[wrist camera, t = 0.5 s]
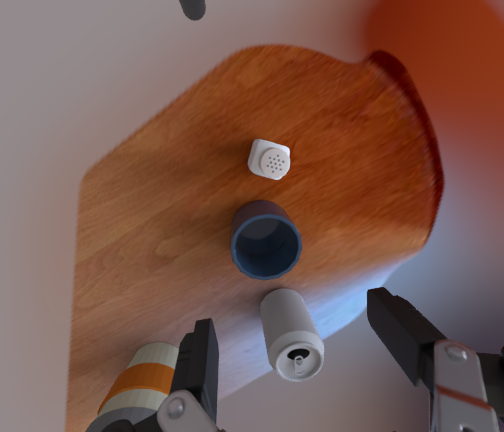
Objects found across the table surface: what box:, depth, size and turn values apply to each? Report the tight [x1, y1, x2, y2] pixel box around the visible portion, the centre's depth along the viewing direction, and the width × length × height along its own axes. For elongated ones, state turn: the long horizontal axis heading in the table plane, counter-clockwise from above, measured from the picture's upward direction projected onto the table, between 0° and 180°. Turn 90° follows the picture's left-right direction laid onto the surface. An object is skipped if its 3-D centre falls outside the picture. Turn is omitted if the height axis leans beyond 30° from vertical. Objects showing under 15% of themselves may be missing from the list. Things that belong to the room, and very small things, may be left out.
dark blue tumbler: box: [230, 200, 302, 280], centre depth 36 cm, size 9×9×7 cm
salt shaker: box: [248, 139, 290, 180], centre depth 31 cm, size 4×4×10 cm
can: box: [260, 289, 324, 382], centre depth 38 cm, size 8×8×12 cm
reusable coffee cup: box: [86, 342, 179, 432], centre depth 38 cm, size 13×13×15 cm
